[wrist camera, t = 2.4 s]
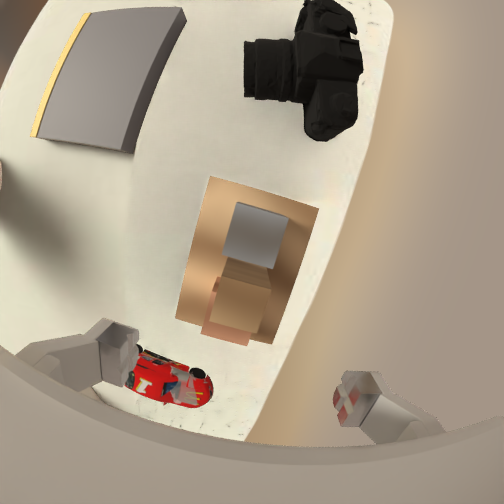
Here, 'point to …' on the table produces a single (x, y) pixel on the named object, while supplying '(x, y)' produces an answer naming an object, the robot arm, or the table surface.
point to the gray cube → (255, 235)
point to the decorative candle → (0, 175)
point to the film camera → (311, 69)
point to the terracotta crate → (219, 329)
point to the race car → (169, 381)
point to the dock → (108, 77)
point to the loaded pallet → (215, 260)
